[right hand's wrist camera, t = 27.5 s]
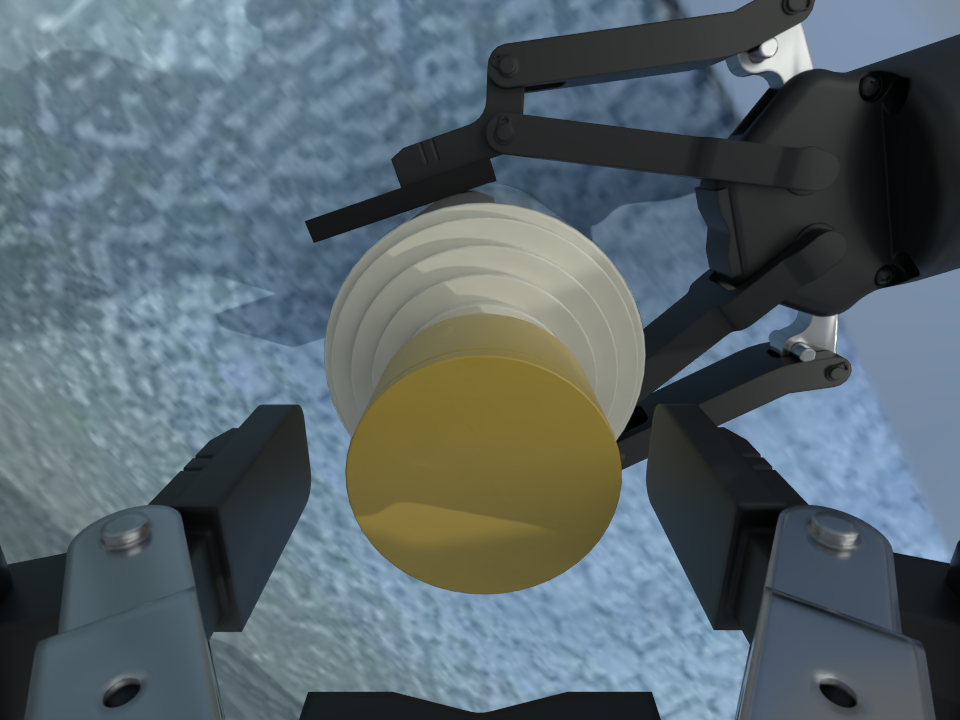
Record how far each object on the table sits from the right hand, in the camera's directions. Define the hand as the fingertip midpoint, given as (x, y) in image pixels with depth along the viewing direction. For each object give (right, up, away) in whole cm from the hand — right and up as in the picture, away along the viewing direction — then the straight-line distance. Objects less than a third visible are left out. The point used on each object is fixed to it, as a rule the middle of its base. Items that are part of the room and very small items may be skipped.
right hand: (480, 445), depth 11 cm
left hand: (-4, +2, +10) cm, 11 cm away
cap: (0, 0, -2) cm, 2 cm away
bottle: (0, +6, +16) cm, 17 cm away
